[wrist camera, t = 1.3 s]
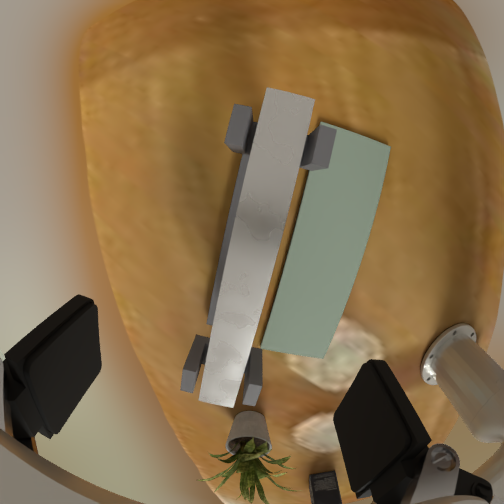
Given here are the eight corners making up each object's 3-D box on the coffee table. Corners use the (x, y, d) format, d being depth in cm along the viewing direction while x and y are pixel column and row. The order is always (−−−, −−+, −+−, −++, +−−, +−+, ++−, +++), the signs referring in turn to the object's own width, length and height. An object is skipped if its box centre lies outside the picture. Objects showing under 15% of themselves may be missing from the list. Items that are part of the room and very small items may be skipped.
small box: (333, 485, 47) (339, 515, 37) (309, 489, 48) (312, 520, 38) (336, 469, 45) (343, 504, 35) (308, 474, 45) (313, 510, 35)
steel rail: (307, 110, 17) (314, 99, 14) (235, 385, 23) (233, 407, 21) (266, 100, 17) (266, 87, 14) (204, 378, 23) (198, 400, 20)
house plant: (311, 427, 40) (323, 503, 24) (246, 450, 42) (242, 519, 26) (270, 383, 37) (273, 475, 21) (198, 411, 39) (179, 491, 24)
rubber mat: (388, 147, 28) (390, 146, 28) (322, 356, 36) (323, 358, 35) (320, 122, 28) (321, 121, 27) (260, 345, 35) (260, 348, 35)
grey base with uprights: (302, 138, 28) (342, 102, 13) (253, 328, 35) (249, 419, 20) (250, 126, 28) (241, 76, 13) (208, 318, 34) (179, 403, 19)
